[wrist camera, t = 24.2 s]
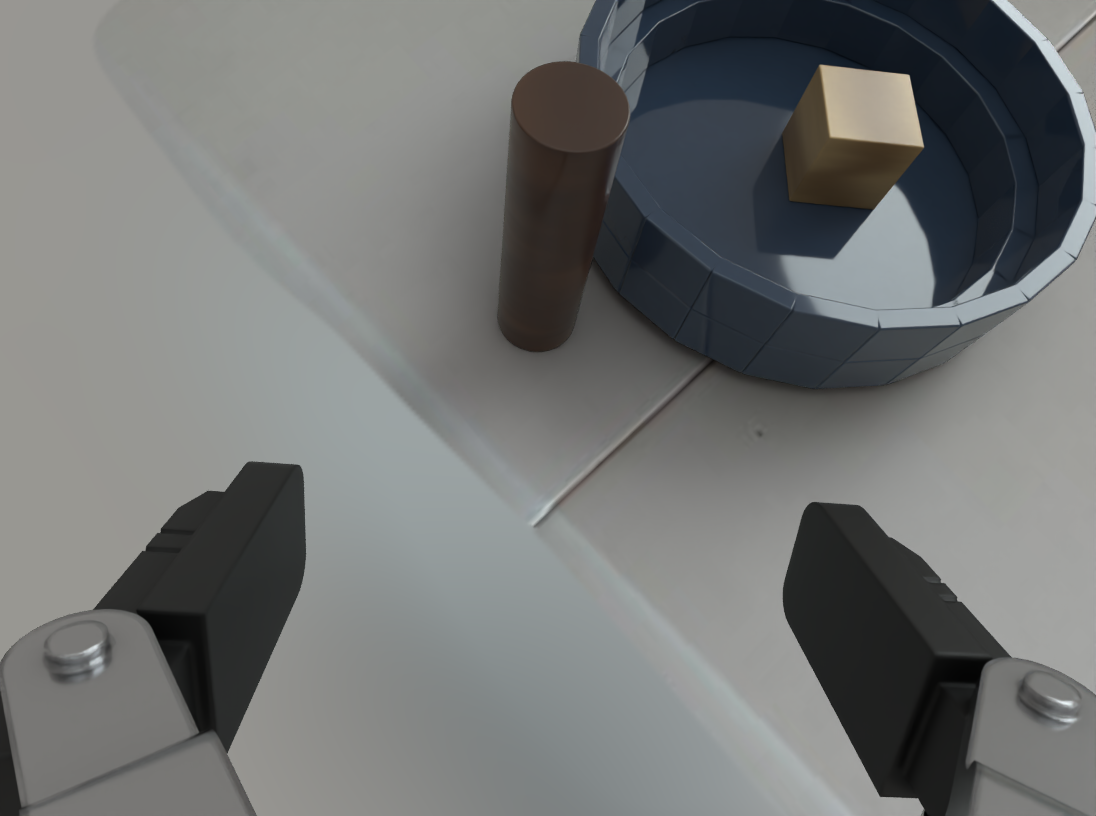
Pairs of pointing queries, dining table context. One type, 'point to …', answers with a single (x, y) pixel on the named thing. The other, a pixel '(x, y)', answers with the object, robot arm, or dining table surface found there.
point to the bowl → (824, 230)
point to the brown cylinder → (556, 196)
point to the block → (851, 137)
